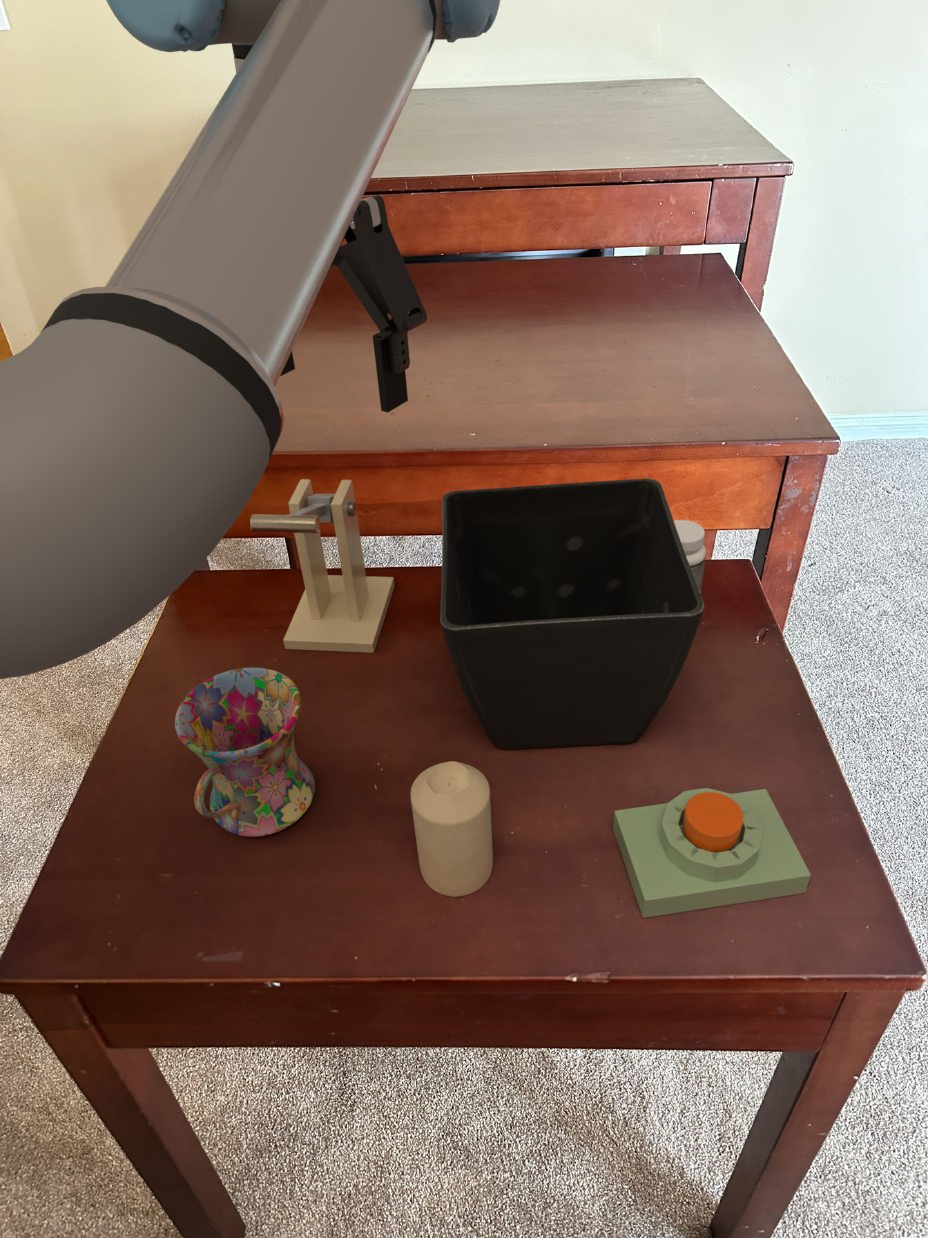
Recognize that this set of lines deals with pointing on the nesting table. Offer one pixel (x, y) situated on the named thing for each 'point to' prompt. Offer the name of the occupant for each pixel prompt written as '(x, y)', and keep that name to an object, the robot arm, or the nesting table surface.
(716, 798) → the button
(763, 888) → the control block
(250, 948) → the nesting table surface
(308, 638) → the bracket
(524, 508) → the flower pot
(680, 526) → the pill bottle
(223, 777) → the mug
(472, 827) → the candle
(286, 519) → the lever
